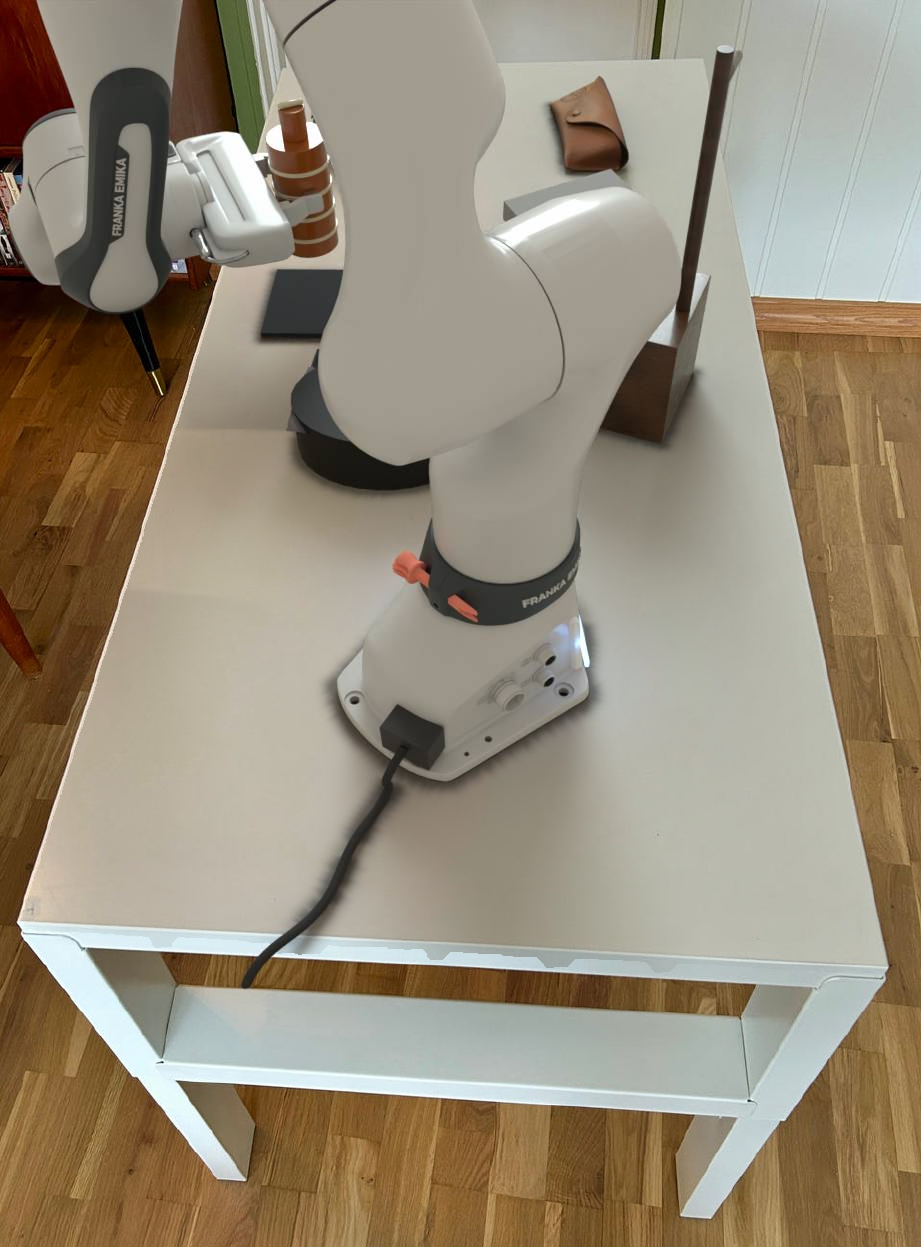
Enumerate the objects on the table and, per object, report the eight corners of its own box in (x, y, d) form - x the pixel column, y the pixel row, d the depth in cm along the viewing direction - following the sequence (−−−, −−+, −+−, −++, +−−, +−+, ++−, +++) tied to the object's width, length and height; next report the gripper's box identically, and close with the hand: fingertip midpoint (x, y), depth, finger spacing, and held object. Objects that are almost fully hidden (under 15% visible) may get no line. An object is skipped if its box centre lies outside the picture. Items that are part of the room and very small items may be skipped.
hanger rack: (549, 415, 111) (568, 61, 83) (587, 345, 118) (616, -4, 89) (661, 444, 108) (721, 87, 80) (693, 371, 115) (759, 18, 86)
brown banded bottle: (292, 264, 115) (268, 123, 102) (275, 233, 118) (250, 92, 106) (347, 250, 116) (330, 108, 103) (329, 220, 119) (310, 79, 107)
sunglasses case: (544, 101, 149) (571, 57, 145) (585, 123, 152) (613, 80, 148) (564, 170, 138) (593, 125, 134) (608, 192, 141) (638, 149, 137)
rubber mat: (367, 338, 120) (366, 334, 119) (261, 337, 120) (260, 333, 120) (377, 274, 127) (377, 269, 126) (277, 273, 127) (276, 268, 127)
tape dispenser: (460, 506, 105) (464, 449, 99) (281, 482, 106) (274, 424, 100) (479, 410, 114) (484, 353, 108) (314, 388, 115) (309, 331, 109)
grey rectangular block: (541, 272, 126) (648, 237, 130) (543, 245, 123) (653, 210, 127) (502, 228, 131) (607, 195, 135) (503, 201, 128) (610, 168, 132)
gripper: (198, 238, 100) (338, 203, 103) (150, 134, 112) (277, 106, 115) (212, 295, 105) (345, 260, 108) (165, 190, 117) (286, 161, 120)
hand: (310, 180), depth 112 cm, fingers closed on brown banded bottle, 6 cm apart
